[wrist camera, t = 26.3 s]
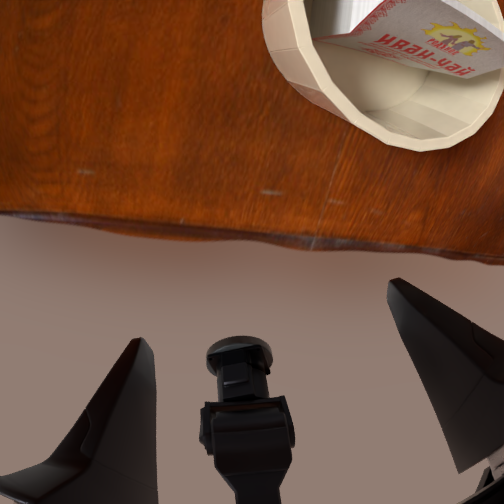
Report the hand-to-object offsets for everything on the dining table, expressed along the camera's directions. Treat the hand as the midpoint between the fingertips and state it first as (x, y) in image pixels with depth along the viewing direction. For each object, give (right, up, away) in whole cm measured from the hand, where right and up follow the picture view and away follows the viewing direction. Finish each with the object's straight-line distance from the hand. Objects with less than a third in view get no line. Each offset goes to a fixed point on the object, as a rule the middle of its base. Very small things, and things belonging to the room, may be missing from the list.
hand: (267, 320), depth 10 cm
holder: (+6, +16, +4) cm, 17 cm away
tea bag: (+6, +16, +3) cm, 17 cm away
